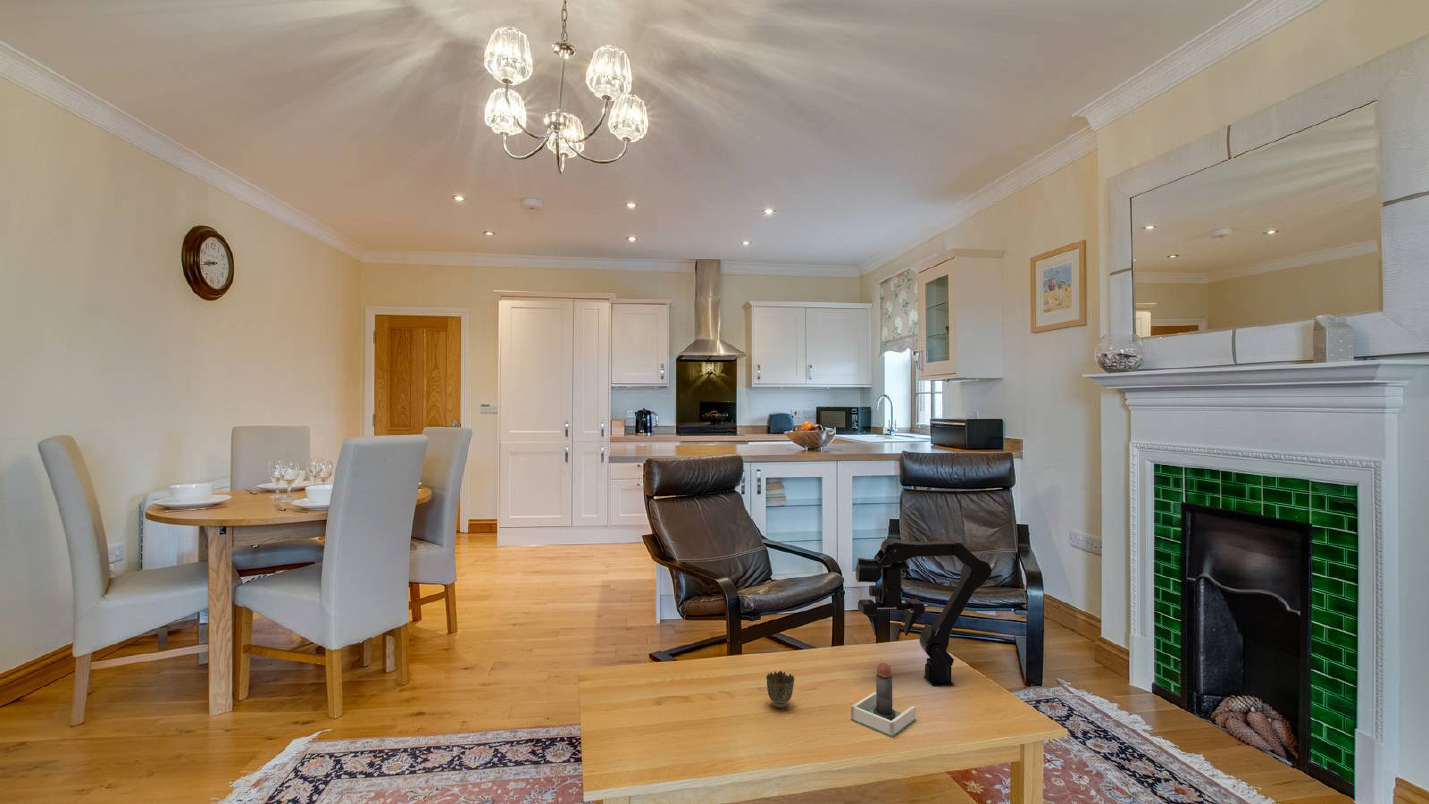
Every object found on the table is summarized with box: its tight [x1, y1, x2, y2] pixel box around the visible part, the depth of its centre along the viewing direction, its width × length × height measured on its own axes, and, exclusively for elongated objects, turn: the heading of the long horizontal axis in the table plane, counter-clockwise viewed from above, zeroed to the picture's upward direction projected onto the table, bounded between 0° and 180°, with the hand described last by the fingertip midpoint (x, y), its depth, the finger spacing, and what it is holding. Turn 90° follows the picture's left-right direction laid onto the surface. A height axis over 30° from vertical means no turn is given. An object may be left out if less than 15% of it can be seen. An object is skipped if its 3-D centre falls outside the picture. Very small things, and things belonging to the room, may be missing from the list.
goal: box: [850, 691, 917, 738], centre depth 160 cm, size 12×12×4 cm
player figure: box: [873, 662, 896, 721], centre depth 161 cm, size 6×6×14 cm
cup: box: [765, 670, 795, 710], centre depth 167 cm, size 8×7×8 cm
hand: (890, 635), depth 184 cm, fingers open, 9 cm apart
